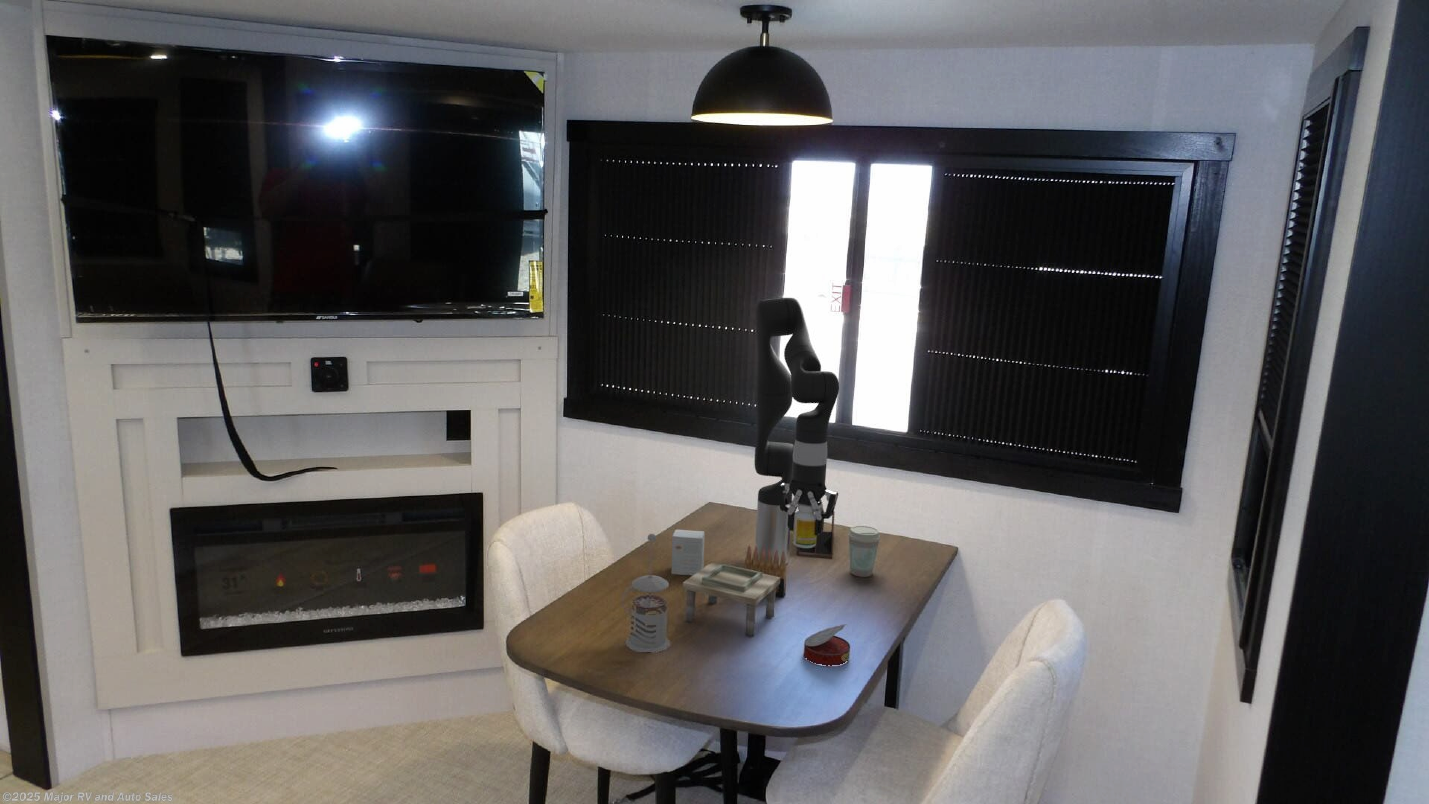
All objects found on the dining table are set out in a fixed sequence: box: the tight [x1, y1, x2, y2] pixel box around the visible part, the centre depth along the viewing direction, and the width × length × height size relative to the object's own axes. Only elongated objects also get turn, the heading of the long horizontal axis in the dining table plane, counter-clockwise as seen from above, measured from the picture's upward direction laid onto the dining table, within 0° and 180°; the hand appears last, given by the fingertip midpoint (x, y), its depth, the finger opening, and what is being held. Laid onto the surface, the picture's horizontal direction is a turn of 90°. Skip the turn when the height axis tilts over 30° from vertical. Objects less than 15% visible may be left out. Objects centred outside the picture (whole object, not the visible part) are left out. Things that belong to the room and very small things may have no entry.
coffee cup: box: [847, 525, 881, 578], centre depth 257 cm, size 8×8×12 cm
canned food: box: [803, 623, 851, 666], centre depth 207 cm, size 11×10×10 cm
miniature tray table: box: [682, 562, 780, 638], centre depth 224 cm, size 15×18×11 cm
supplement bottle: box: [792, 503, 817, 548], centre depth 217 cm, size 5×5×10 cm
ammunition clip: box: [744, 545, 787, 599], centre depth 240 cm, size 11×2×12 cm, turn 72°
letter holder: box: [796, 511, 836, 559], centre depth 276 cm, size 10×20×14 cm, turn 172°
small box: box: [671, 529, 705, 576], centre depth 252 cm, size 8×6×10 cm
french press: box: [621, 533, 671, 653], centre depth 209 cm, size 10×12×25 cm
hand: (804, 531), depth 218 cm, fingers closed on supplement bottle, 5 cm apart
